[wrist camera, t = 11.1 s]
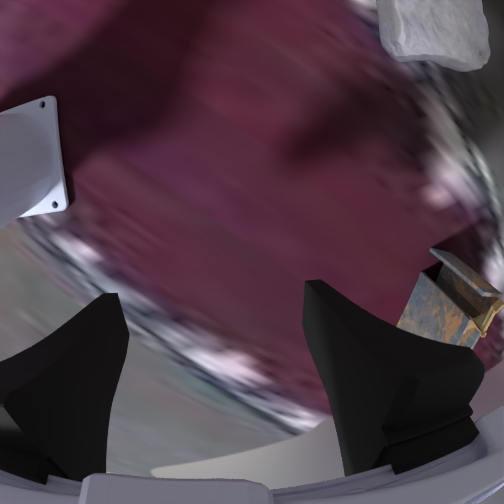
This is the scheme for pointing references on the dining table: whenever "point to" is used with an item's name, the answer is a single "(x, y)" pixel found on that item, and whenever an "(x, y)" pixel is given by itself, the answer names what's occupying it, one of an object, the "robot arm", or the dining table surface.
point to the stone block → (435, 32)
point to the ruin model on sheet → (451, 304)
